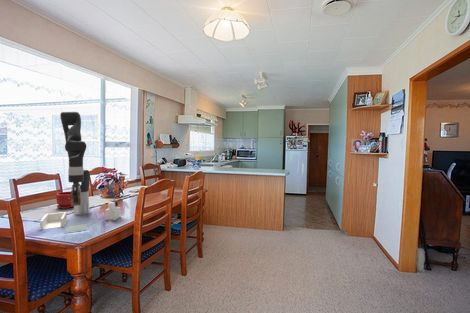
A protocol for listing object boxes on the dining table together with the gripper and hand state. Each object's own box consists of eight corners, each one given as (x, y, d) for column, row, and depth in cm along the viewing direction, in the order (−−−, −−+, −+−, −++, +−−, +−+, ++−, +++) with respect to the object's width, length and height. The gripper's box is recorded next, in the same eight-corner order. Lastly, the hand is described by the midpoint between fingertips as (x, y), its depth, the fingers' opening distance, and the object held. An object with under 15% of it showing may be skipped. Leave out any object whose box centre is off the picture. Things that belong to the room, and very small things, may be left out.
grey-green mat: (87, 225, 146) (87, 224, 146) (86, 230, 137) (85, 229, 137) (67, 228, 141) (67, 226, 141) (65, 233, 132) (65, 231, 132)
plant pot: (60, 210, 177) (60, 195, 176) (53, 207, 184) (53, 193, 184) (79, 207, 188) (79, 192, 187) (72, 204, 195) (72, 190, 194)
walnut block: (81, 203, 142) (80, 189, 141) (80, 205, 138) (80, 190, 137) (72, 204, 139) (72, 189, 139) (71, 205, 135) (71, 190, 135)
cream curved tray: (67, 220, 155) (67, 211, 155) (64, 228, 141) (64, 218, 141) (45, 223, 149) (44, 214, 149) (39, 231, 135) (38, 221, 135)
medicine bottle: (110, 216, 165) (110, 200, 165) (120, 217, 165) (120, 200, 164) (105, 219, 158) (105, 202, 157) (115, 220, 158) (115, 203, 157)
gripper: (82, 175, 133) (82, 203, 134) (84, 172, 146) (84, 198, 147) (66, 175, 130) (67, 205, 130) (70, 172, 142) (70, 199, 143)
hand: (76, 201), depth 138 cm, fingers closed on walnut block, 4 cm apart
